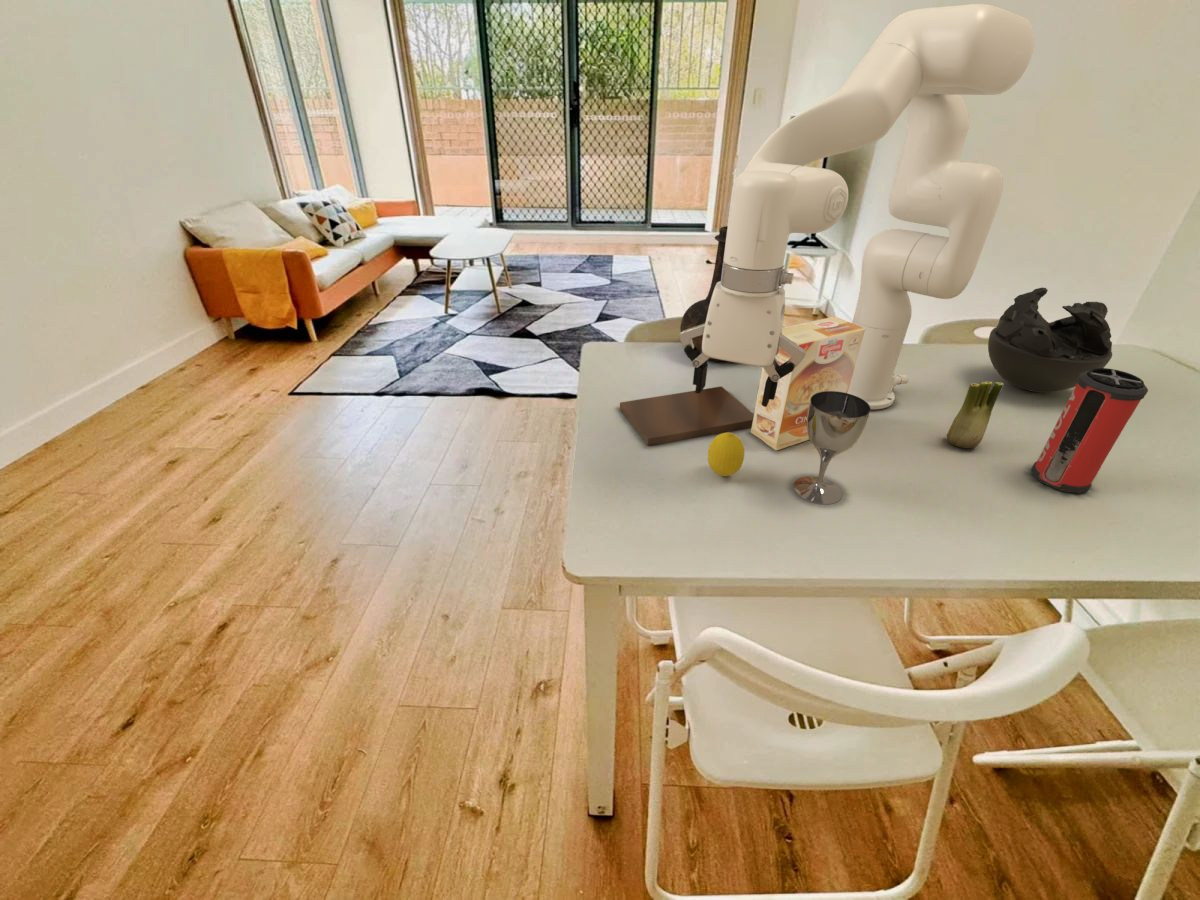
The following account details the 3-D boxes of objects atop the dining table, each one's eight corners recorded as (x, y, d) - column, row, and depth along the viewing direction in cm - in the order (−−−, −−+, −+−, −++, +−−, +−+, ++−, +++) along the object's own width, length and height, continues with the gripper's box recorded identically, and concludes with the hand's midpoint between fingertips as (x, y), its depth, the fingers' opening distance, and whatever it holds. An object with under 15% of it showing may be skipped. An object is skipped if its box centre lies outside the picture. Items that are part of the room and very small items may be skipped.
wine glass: (783, 476, 89) (801, 392, 81) (831, 473, 90) (854, 390, 82) (802, 507, 83) (824, 419, 75) (854, 504, 83) (881, 416, 75)
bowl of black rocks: (1104, 417, 106) (1158, 321, 95) (984, 401, 111) (1023, 308, 101) (1067, 374, 122) (1111, 288, 111) (964, 362, 127) (996, 278, 117)
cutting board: (720, 392, 114) (721, 386, 113) (758, 425, 103) (759, 418, 102) (619, 409, 108) (619, 402, 107) (647, 446, 97) (647, 438, 96)
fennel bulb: (977, 440, 98) (1004, 378, 92) (983, 455, 95) (1011, 391, 88) (940, 435, 100) (964, 373, 94) (945, 449, 96) (970, 386, 90)
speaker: (1091, 500, 84) (1156, 393, 74) (1030, 484, 88) (1085, 380, 78) (1086, 475, 90) (1146, 372, 80) (1029, 461, 93) (1080, 361, 83)
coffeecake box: (776, 451, 95) (798, 344, 85) (748, 432, 101) (766, 329, 90) (839, 431, 101) (867, 327, 91) (810, 414, 106) (833, 314, 96)
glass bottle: (770, 353, 131) (793, 227, 116) (728, 377, 120) (747, 241, 105) (707, 334, 141) (720, 215, 126) (663, 354, 130) (671, 227, 115)
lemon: (740, 487, 87) (748, 444, 82) (704, 483, 88) (710, 440, 83) (740, 468, 91) (747, 425, 87) (706, 464, 92) (711, 422, 88)
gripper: (823, 278, 72) (796, 397, 82) (693, 263, 78) (682, 375, 87) (817, 294, 67) (789, 419, 76) (677, 276, 72) (667, 395, 82)
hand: (732, 396), depth 82 cm, fingers open, 9 cm apart
